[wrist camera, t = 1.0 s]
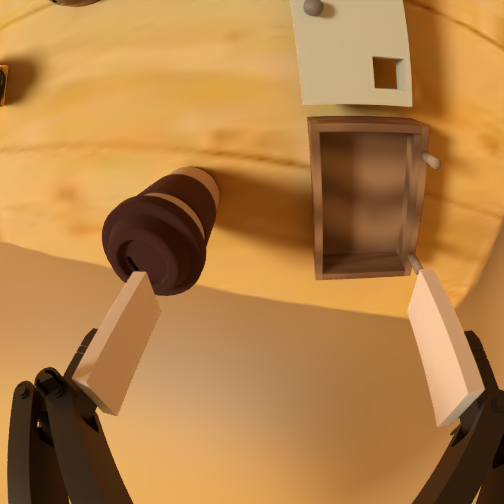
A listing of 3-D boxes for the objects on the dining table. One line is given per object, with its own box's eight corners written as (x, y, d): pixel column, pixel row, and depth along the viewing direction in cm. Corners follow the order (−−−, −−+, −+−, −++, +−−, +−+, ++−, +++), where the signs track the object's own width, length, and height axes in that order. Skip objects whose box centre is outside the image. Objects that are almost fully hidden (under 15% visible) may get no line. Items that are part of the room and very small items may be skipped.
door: (278, -59, 15) (276, -73, 12) (380, -54, 14) (390, -67, 11) (302, 102, 25) (303, 106, 22) (403, 103, 23) (416, 108, 20)
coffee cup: (236, 162, 33) (201, 224, 21) (226, 234, 39) (194, 318, 27) (157, 150, 33) (86, 202, 21) (155, 220, 39) (100, 292, 27)
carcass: (307, 116, 29) (312, 129, 23) (411, 118, 27) (443, 133, 21) (313, 256, 39) (316, 297, 32) (400, 252, 37) (417, 291, 30)
